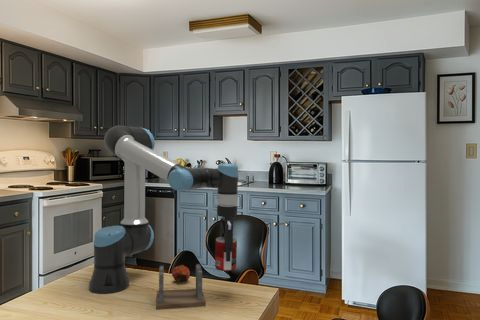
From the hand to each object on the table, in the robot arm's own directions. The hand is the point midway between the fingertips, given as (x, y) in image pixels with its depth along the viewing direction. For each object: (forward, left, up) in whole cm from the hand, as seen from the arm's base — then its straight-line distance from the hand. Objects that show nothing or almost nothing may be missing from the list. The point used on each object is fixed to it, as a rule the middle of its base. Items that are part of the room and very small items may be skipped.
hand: (225, 266), depth 142 cm
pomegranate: (-24, +5, -12) cm, 28 cm away
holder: (-12, -11, -12) cm, 20 cm away
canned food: (0, 0, -1) cm, 1 cm away
